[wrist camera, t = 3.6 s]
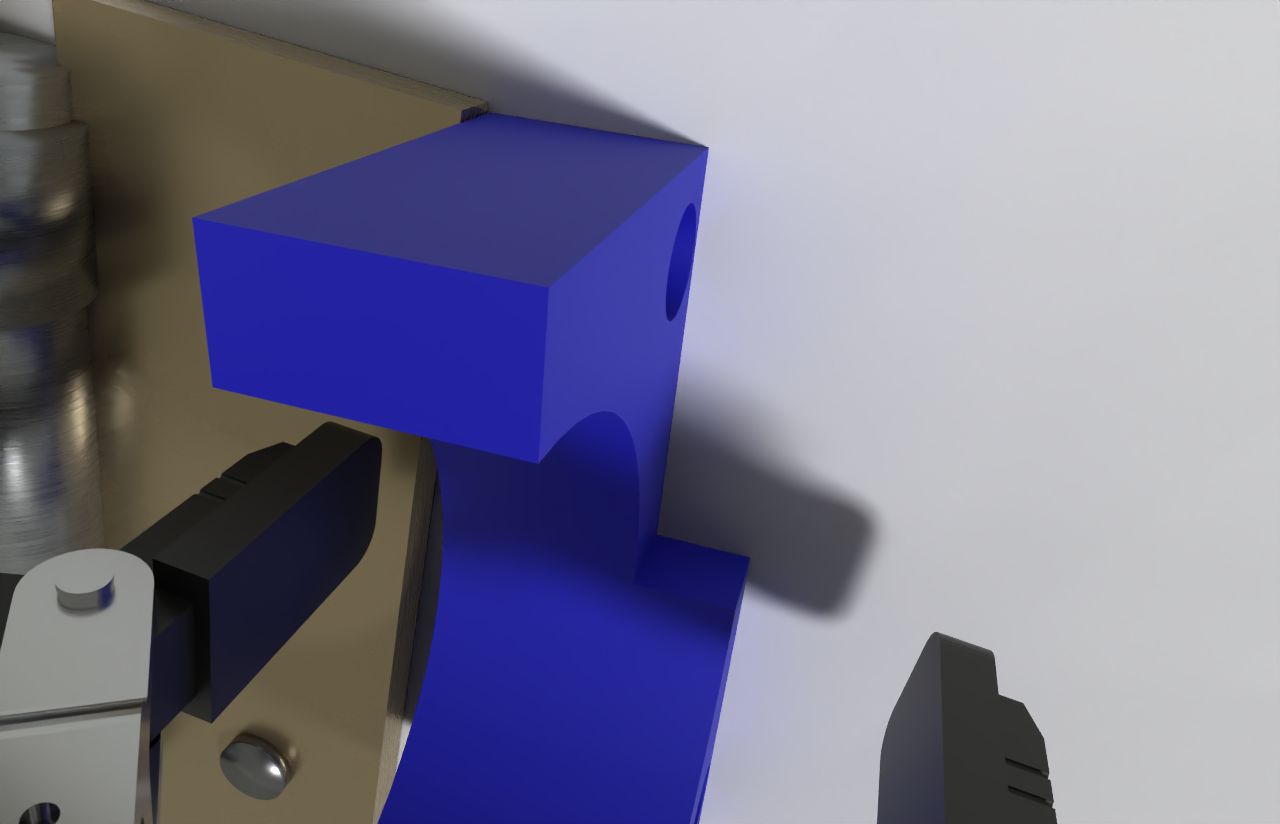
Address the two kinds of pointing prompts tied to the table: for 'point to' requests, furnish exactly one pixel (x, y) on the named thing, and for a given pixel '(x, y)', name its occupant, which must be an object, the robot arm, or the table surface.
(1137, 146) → the table surface
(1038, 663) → the table surface
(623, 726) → the blue curved bracket
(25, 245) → the hinge base
